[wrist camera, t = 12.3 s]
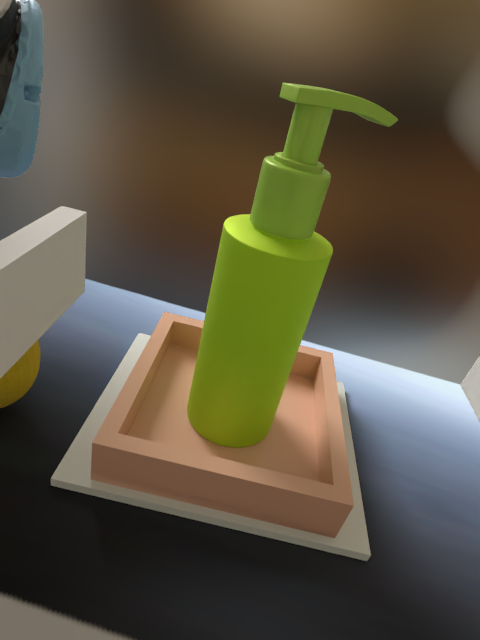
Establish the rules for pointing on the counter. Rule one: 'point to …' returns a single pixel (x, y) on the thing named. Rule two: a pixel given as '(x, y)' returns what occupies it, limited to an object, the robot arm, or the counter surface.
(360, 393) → the counter surface
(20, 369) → the lemon
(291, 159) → the soap dispenser
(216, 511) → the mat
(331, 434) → the dish
